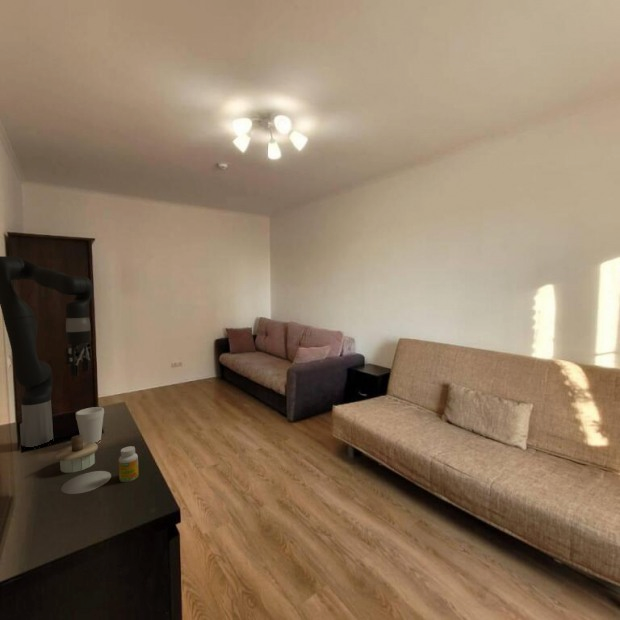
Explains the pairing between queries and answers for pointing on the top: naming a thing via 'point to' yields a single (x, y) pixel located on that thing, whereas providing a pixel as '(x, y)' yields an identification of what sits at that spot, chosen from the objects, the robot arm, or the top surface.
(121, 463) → the supplement bottle
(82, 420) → the foam cup
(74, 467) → the bowl
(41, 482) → the top surface
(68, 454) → the lid
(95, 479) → the mat
